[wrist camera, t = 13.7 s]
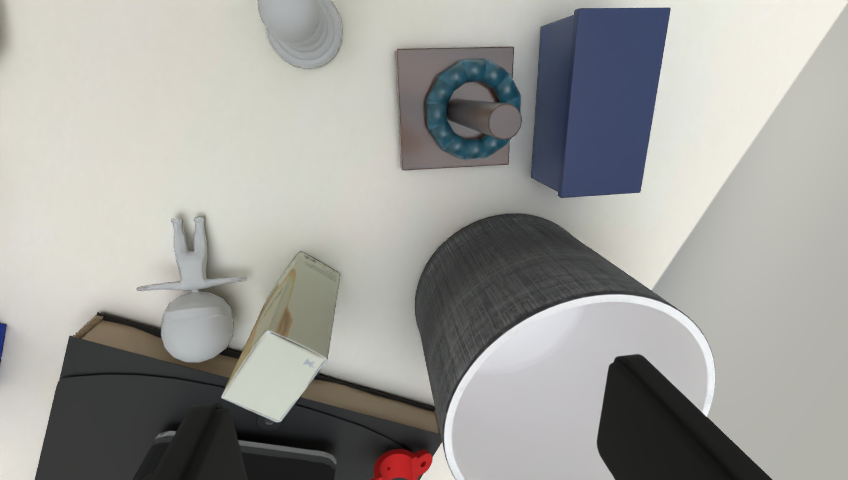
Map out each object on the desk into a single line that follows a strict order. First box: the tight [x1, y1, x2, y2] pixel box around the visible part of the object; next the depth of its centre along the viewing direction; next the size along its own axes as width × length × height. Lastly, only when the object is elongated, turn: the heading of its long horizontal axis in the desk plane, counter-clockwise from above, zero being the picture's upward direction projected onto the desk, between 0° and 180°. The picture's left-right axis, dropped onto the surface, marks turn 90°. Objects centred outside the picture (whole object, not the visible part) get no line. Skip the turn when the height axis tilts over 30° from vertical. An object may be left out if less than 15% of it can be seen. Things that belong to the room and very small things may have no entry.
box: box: [531, 8, 670, 198], centre depth 31 cm, size 12×6×6 cm, turn 2°
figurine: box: [137, 217, 247, 363], centre depth 33 cm, size 8×5×12 cm
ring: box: [426, 59, 521, 160], centre depth 31 cm, size 7×7×2 cm
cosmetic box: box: [221, 252, 340, 422], centre depth 31 cm, size 6×4×12 cm
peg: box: [396, 47, 522, 170], centre depth 27 cm, size 9×9×13 cm
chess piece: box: [258, 0, 342, 69], centre depth 25 cm, size 5×5×9 cm
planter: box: [415, 214, 715, 480], centre depth 33 cm, size 18×18×16 cm
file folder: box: [35, 312, 442, 480], centre depth 40 cm, size 33×4×24 cm
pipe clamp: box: [370, 449, 432, 480], centre depth 38 cm, size 8×3×2 cm, turn 87°
